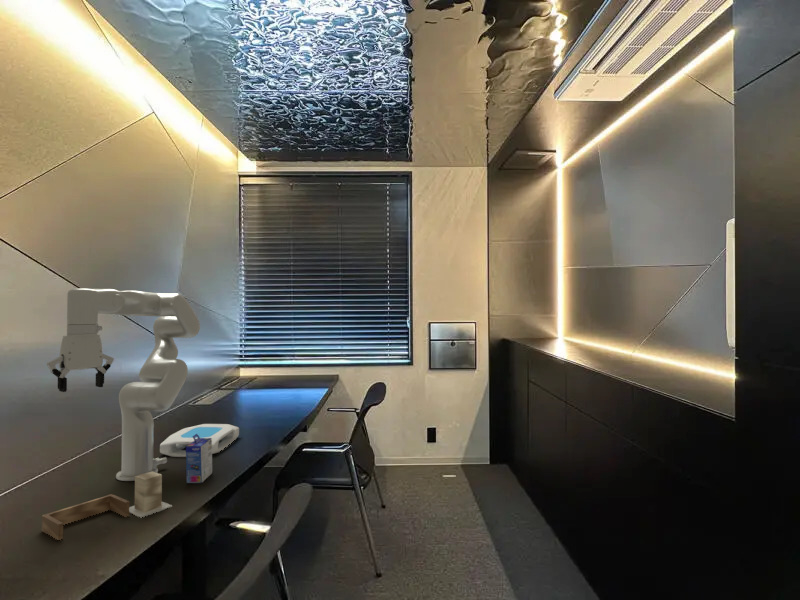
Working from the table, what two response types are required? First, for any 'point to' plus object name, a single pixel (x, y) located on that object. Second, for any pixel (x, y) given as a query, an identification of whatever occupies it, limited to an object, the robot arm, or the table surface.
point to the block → (148, 491)
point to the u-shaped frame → (82, 513)
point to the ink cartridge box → (198, 459)
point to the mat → (143, 514)
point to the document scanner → (185, 437)
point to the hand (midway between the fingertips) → (81, 389)
